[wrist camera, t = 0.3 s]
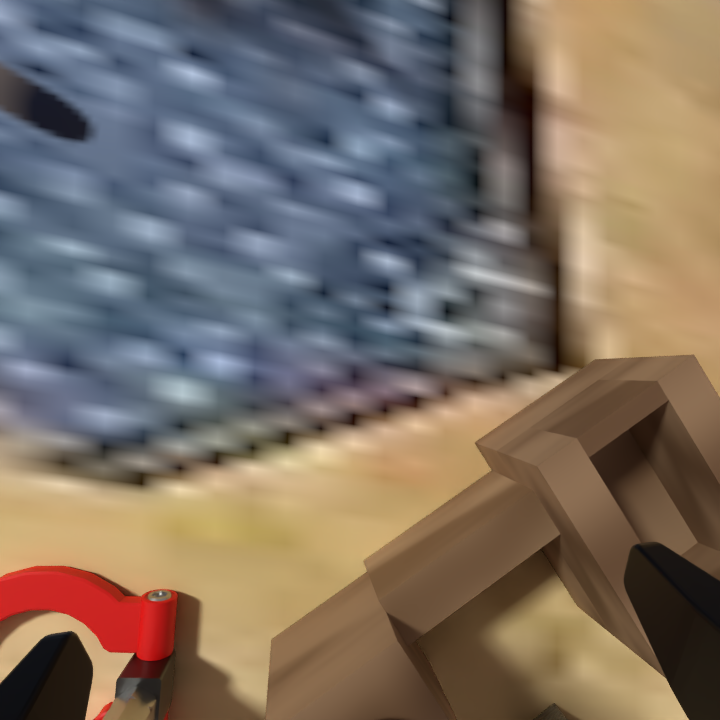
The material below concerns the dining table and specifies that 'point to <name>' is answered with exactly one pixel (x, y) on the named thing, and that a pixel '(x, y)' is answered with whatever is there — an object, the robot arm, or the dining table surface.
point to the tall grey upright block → (551, 714)
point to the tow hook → (108, 630)
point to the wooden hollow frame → (522, 536)
